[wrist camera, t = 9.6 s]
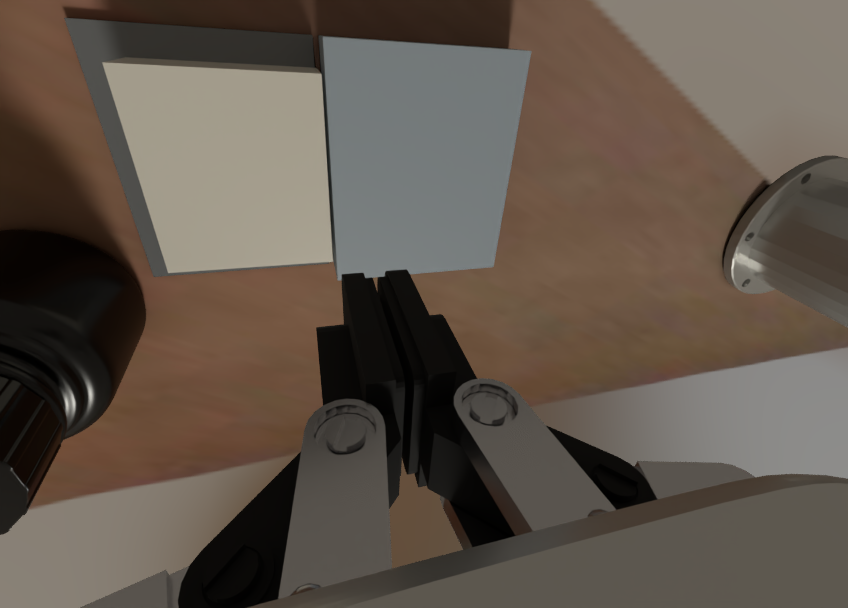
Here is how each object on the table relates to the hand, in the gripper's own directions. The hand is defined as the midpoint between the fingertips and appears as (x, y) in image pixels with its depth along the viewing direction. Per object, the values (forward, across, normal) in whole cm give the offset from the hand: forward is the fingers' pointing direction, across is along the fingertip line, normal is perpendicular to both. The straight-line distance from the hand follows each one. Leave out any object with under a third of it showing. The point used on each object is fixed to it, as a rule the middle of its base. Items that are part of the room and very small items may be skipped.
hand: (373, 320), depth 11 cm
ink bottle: (+15, +15, +7) cm, 23 cm away
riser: (+15, -5, 0) cm, 16 cm away
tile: (+13, +4, 0) cm, 14 cm away
